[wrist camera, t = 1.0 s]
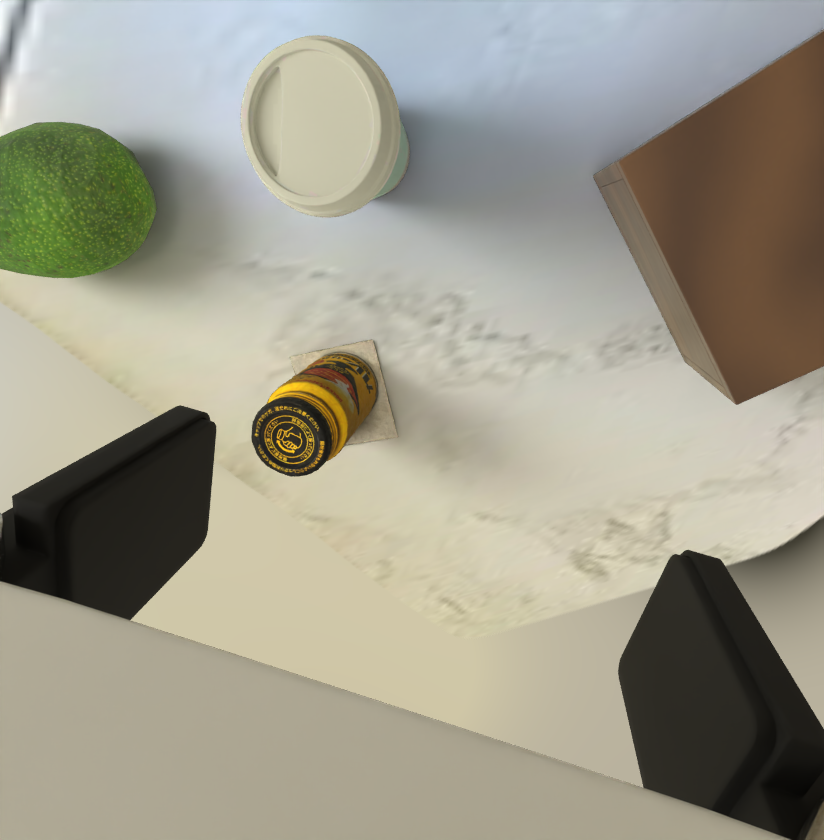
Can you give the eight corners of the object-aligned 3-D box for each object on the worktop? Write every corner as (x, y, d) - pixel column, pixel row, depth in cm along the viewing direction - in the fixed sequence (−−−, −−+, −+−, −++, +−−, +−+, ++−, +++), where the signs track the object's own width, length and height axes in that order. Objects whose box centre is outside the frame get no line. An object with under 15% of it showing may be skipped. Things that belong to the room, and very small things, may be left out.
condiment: (373, 338, 43) (323, 380, 32) (398, 436, 45) (360, 506, 34) (290, 356, 44) (216, 401, 33) (319, 448, 47) (259, 519, 36)
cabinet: (890, -14, 30) (1052, -115, 21) (972, 223, 33) (1143, 225, 24) (592, 175, 36) (618, 161, 27) (685, 362, 39) (736, 405, 30)
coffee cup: (357, 54, 36) (287, -20, 25) (454, 141, 37) (428, 107, 26) (290, 164, 39) (201, 143, 28) (380, 242, 40) (328, 251, 29)
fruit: (48, 289, 46) (-68, 307, 37) (-3, 165, 43) (-144, 151, 34) (200, 254, 43) (113, 263, 33) (156, 116, 40) (47, 85, 30)
